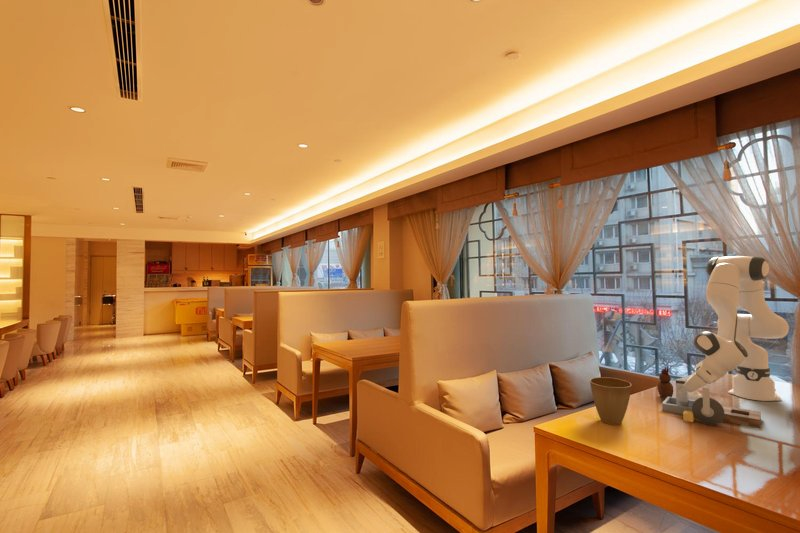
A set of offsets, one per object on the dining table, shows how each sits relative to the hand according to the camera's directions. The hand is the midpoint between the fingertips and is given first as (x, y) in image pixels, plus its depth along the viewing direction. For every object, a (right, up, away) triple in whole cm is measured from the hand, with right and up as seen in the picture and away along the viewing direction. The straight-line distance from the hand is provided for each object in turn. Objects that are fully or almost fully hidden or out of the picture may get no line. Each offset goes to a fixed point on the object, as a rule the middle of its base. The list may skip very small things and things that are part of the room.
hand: (680, 391), depth 175 cm
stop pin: (+1, -7, -1) cm, 7 cm away
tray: (+1, -8, -1) cm, 8 cm away
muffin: (+12, -8, +8) cm, 16 cm away
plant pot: (-37, -8, -13) cm, 40 cm away
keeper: (+15, -7, -14) cm, 21 cm away
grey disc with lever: (-3, -8, -17) cm, 19 cm away
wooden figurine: (+5, -9, +17) cm, 20 cm away
